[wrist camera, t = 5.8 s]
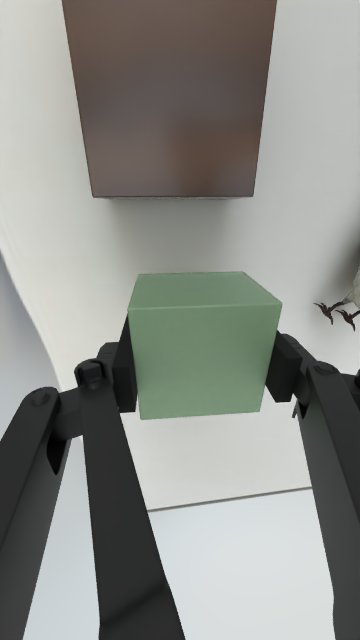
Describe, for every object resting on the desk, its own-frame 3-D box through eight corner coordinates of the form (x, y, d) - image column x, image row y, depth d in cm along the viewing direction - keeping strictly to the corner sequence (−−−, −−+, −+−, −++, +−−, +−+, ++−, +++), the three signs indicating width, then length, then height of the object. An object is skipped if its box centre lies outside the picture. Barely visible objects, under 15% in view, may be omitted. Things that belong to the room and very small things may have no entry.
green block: (137, 273, 15) (126, 308, 10) (243, 271, 15) (283, 302, 10) (145, 361, 18) (140, 420, 13) (233, 357, 18) (259, 412, 13)
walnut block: (83, 10, 14) (47, -84, 9) (245, 20, 14) (285, -63, 10) (107, 199, 18) (92, 197, 14) (230, 199, 19) (253, 196, 14)
